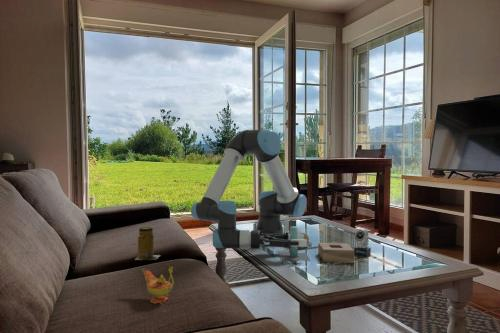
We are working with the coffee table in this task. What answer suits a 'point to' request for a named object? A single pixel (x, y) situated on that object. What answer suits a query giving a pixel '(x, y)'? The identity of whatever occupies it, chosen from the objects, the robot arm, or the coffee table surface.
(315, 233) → the coffee table surface
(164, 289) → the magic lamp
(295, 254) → the dowel
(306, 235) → the ceramic mug
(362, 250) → the watch
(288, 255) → the mat
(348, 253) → the socket block
